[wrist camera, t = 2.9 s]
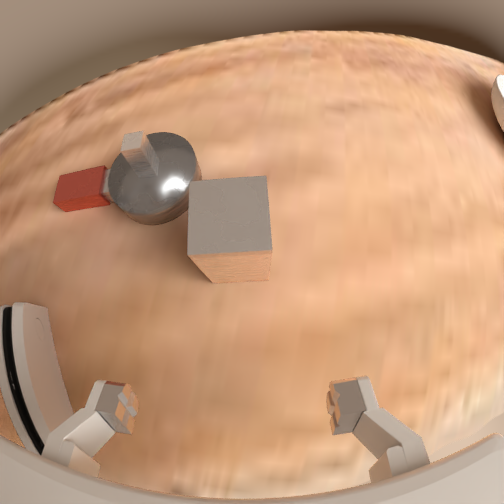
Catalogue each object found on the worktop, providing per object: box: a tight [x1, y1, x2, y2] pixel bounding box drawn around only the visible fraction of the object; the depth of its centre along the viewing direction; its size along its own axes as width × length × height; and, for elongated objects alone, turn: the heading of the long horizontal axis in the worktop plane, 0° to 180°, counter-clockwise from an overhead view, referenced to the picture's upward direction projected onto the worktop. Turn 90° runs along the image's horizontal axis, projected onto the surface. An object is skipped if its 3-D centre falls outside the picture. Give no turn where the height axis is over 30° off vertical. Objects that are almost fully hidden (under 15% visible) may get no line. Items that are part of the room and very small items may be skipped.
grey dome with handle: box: [53, 131, 202, 225], centre depth 24 cm, size 16×9×8 cm, turn 93°
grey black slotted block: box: [0, 302, 74, 456], centre depth 18 cm, size 17×5×10 cm, turn 19°
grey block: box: [187, 176, 272, 283], centre depth 21 cm, size 5×5×9 cm
